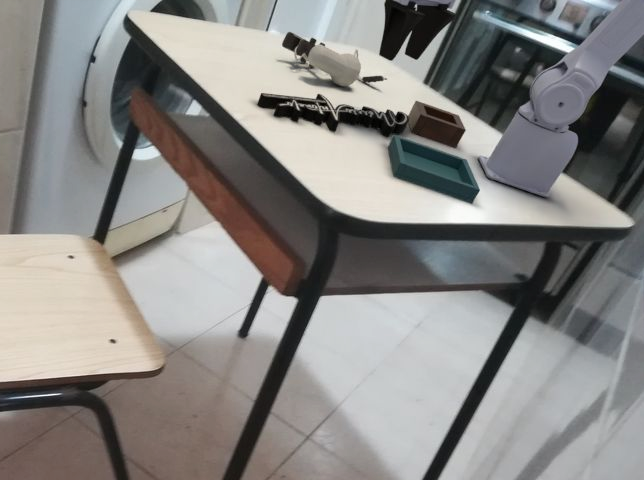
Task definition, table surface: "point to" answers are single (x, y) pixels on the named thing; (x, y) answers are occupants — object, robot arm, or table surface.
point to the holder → (432, 169)
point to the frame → (436, 124)
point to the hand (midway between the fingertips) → (398, 57)
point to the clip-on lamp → (328, 60)
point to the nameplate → (333, 113)
